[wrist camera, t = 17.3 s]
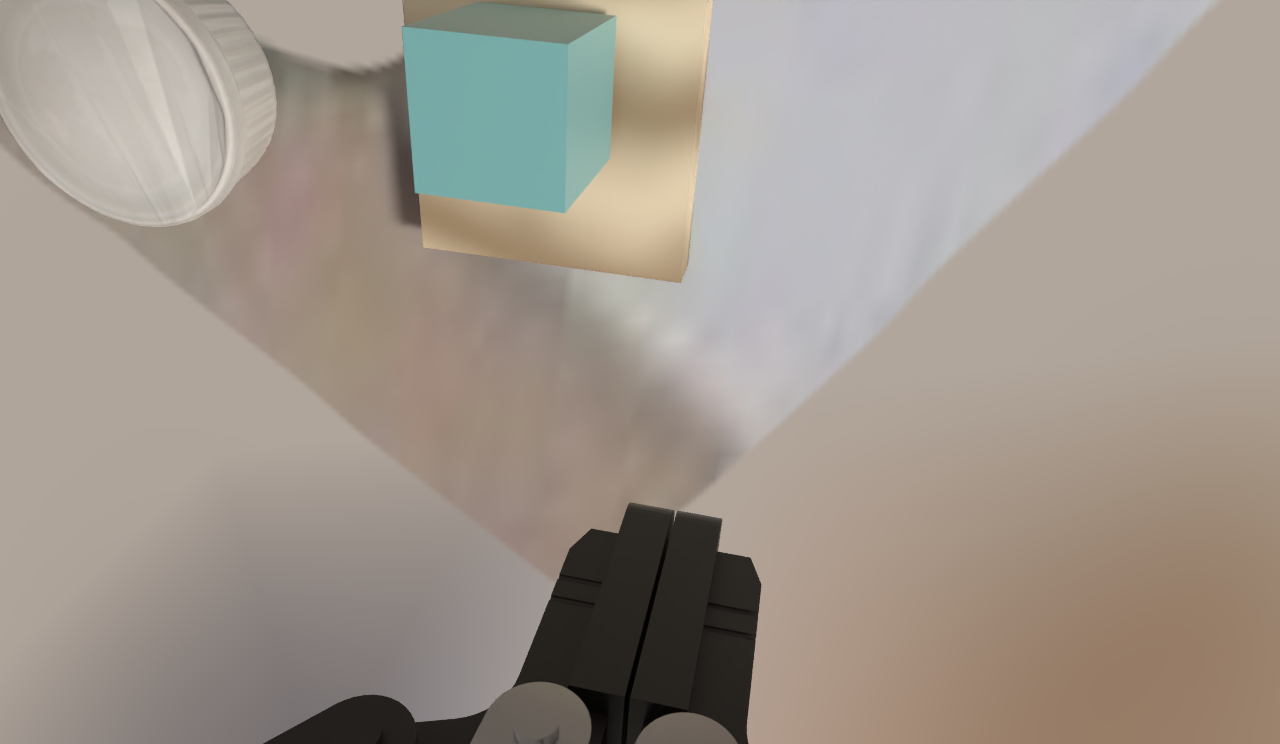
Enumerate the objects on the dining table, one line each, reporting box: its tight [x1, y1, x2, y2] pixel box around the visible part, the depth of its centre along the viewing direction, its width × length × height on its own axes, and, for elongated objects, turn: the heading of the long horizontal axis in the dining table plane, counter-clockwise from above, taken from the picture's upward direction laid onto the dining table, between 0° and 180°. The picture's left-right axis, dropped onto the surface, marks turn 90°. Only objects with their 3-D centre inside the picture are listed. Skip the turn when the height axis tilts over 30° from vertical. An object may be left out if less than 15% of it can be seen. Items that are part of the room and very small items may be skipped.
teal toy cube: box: [402, 2, 617, 213], centre depth 30 cm, size 5×5×7 cm
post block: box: [403, 0, 713, 283], centre depth 31 cm, size 16×12×8 cm
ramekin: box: [0, 0, 277, 227], centre depth 36 cm, size 11×11×5 cm
